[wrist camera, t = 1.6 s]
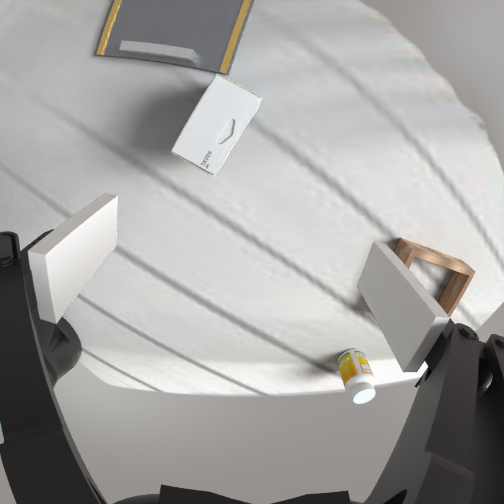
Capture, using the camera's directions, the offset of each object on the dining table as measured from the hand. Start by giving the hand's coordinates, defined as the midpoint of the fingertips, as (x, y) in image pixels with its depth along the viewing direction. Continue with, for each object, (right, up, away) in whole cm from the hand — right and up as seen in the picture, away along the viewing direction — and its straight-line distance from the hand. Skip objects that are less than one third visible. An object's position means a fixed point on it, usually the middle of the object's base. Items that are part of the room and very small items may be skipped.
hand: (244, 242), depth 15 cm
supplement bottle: (+19, -20, +38) cm, 47 cm away
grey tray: (-9, +29, +14) cm, 34 cm away
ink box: (-3, +16, +21) cm, 26 cm away
